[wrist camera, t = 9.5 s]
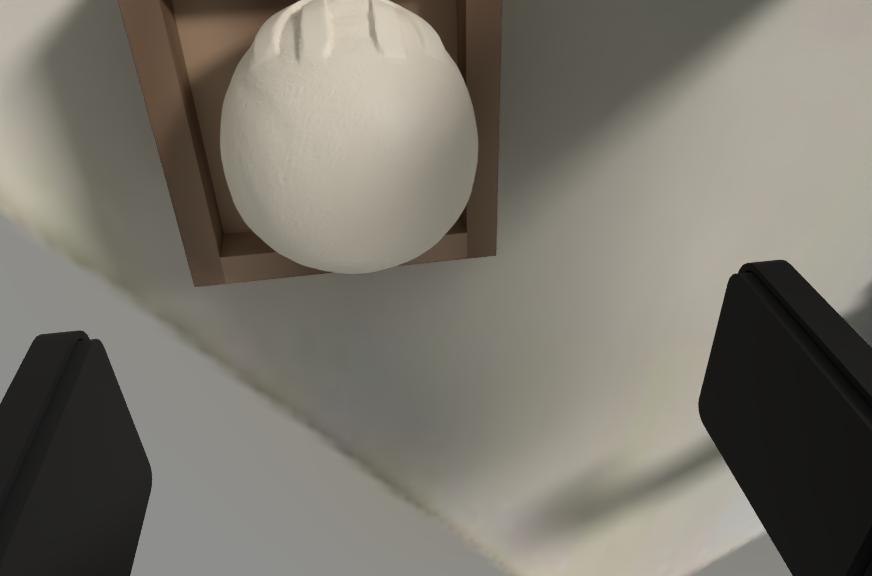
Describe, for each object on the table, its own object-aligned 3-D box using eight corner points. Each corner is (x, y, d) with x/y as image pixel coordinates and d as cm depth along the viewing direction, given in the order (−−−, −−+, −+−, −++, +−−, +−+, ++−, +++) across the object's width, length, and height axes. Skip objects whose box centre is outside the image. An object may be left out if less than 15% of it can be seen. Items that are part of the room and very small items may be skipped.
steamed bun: (455, -29, 21) (520, 15, 15) (446, 203, 24) (495, 309, 19) (211, -31, 20) (183, 17, 14) (242, 213, 23) (229, 329, 18)
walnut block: (459, -100, 24) (503, -70, 19) (462, 173, 30) (496, 255, 24) (151, -84, 23) (105, -48, 18) (215, 196, 29) (194, 287, 23)
